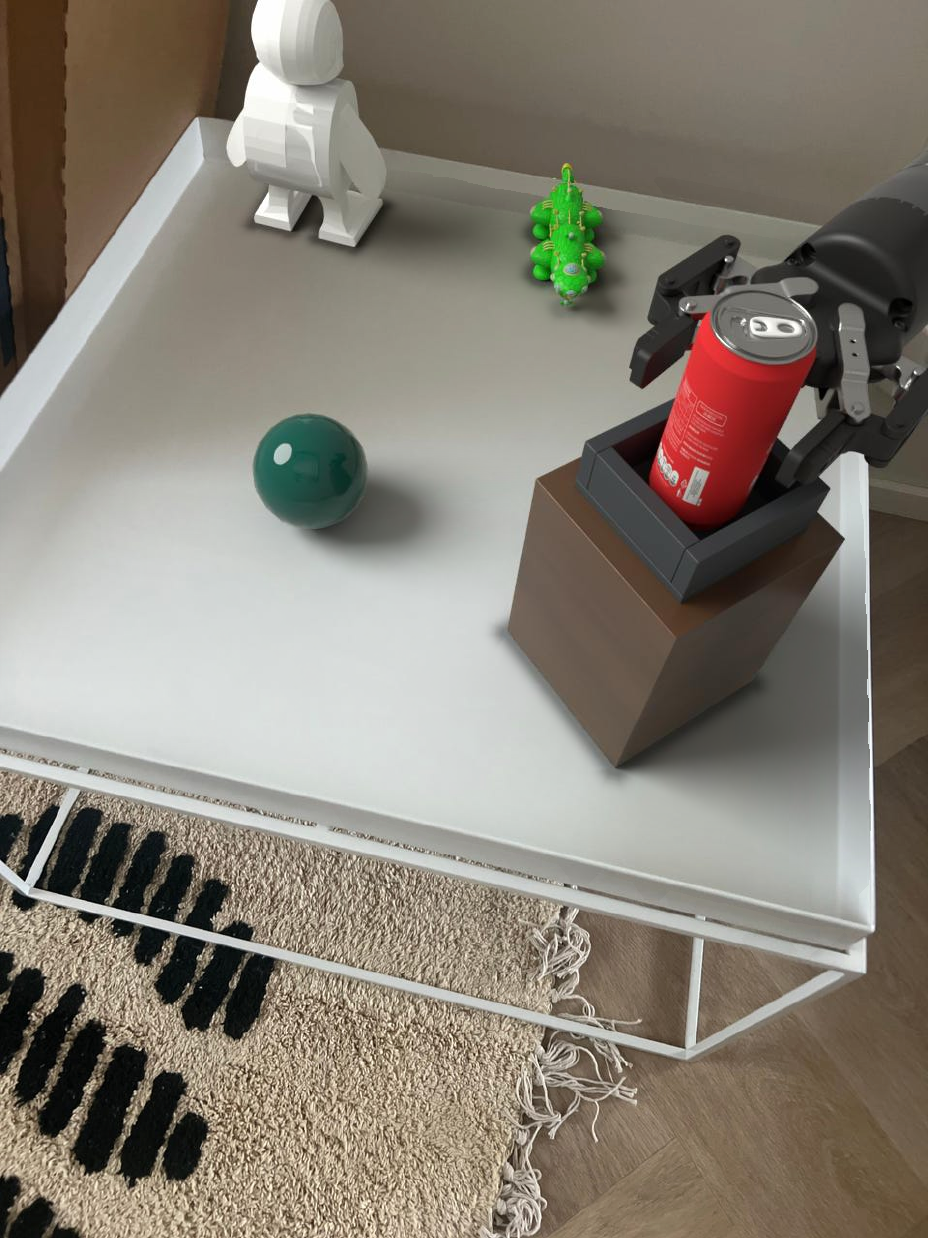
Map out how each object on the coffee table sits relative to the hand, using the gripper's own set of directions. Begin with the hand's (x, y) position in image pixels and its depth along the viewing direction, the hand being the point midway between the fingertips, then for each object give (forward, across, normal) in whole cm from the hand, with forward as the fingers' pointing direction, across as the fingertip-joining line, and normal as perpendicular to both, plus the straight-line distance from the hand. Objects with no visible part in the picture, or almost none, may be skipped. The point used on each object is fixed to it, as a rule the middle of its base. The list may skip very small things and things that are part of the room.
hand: (710, 420), depth 45 cm
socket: (-2, 0, +8) cm, 8 cm away
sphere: (+5, -24, +24) cm, 35 cm away
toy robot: (-17, -49, +24) cm, 57 cm away
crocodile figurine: (-31, -30, +24) cm, 50 cm away
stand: (-2, 0, +24) cm, 24 cm away
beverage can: (-2, 0, +8) cm, 8 cm away
